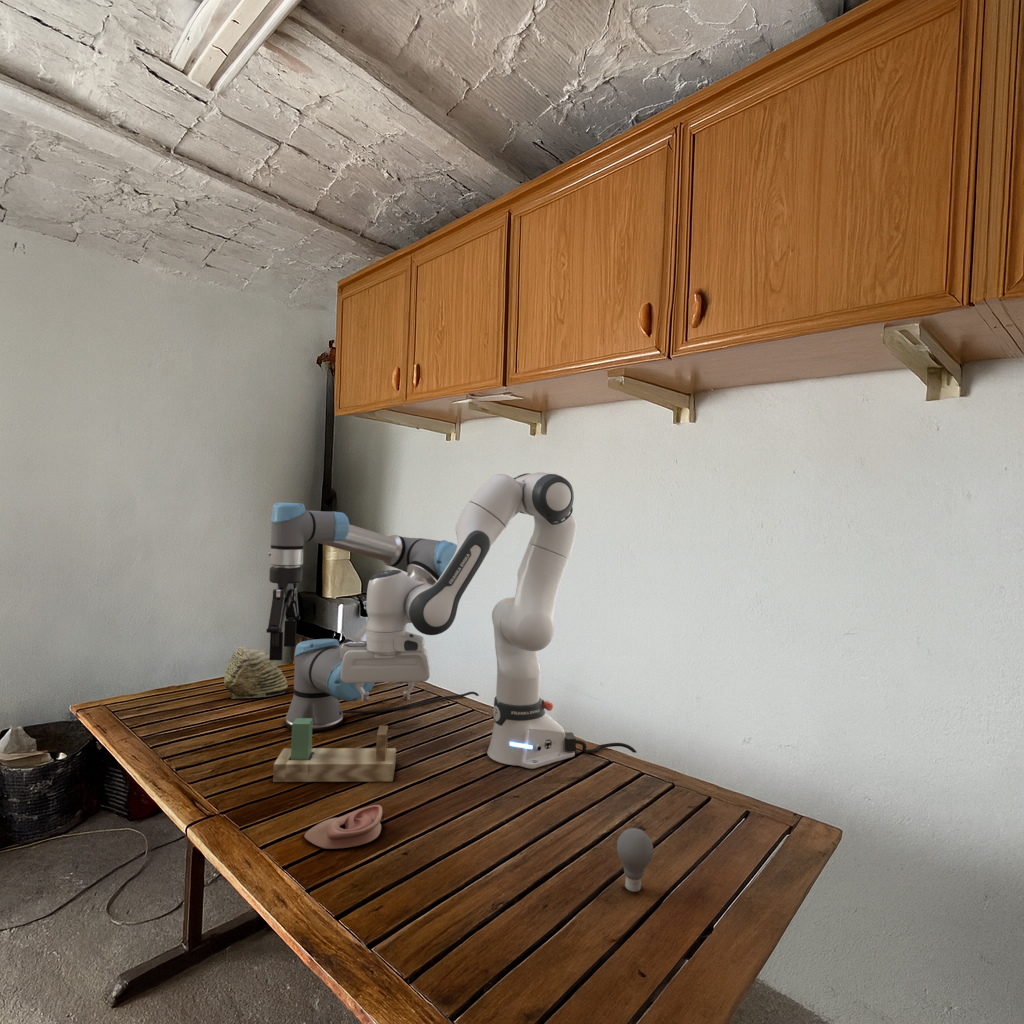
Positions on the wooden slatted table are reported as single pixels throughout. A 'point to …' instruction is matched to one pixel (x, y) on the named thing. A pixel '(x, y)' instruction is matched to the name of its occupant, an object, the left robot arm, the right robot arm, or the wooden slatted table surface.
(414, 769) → the wooden slatted table surface
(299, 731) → the peg
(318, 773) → the peg board
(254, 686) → the fossil
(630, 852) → the light bulb
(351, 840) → the anatomical model
